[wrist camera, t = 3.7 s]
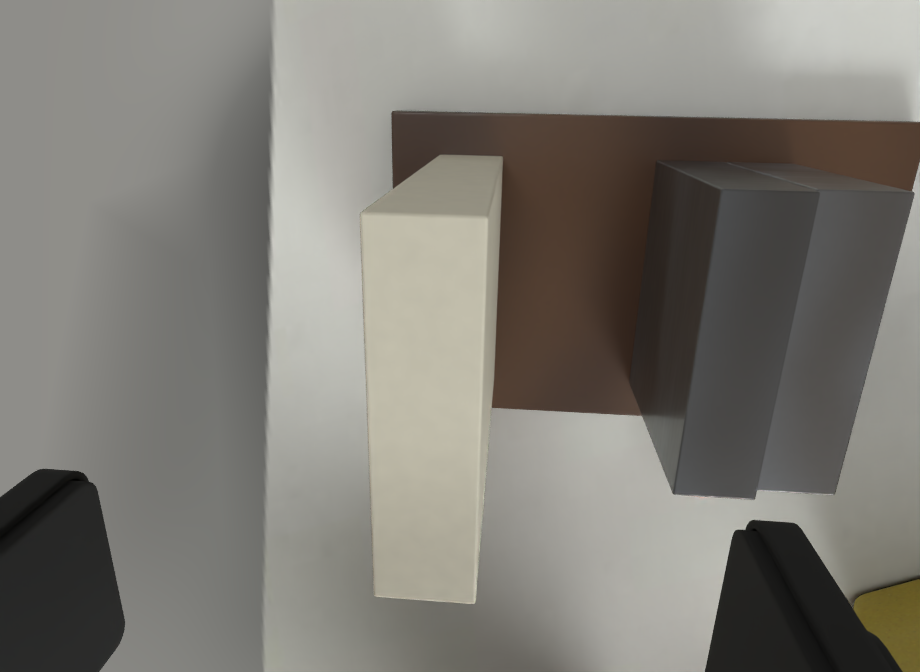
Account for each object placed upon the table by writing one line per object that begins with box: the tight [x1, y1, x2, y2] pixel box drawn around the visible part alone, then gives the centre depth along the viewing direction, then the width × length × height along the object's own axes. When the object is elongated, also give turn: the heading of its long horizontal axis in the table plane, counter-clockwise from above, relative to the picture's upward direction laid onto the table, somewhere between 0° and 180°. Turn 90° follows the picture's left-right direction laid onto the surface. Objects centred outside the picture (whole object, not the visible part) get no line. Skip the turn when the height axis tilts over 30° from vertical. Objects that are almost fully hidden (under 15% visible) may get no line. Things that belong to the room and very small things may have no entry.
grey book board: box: [391, 111, 920, 500], centre depth 22 cm, size 19×12×9 cm, turn 89°
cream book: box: [360, 155, 503, 604], centre depth 19 cm, size 2×9×13 cm, turn 179°
